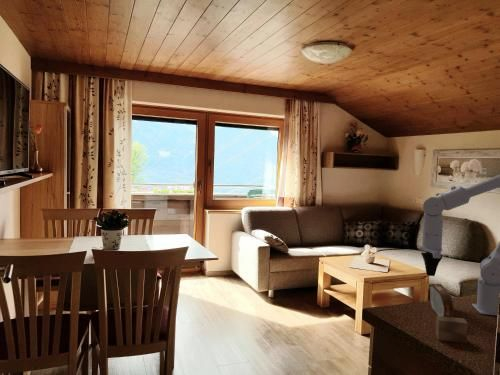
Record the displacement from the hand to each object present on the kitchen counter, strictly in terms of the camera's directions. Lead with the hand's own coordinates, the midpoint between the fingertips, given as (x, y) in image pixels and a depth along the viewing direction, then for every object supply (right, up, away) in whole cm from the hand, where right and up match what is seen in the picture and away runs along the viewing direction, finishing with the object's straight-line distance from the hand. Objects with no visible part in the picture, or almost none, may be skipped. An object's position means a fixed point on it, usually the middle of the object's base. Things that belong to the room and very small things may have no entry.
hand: (430, 275), depth 122 cm
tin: (-3, -9, -12) cm, 16 cm away
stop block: (-8, -9, -28) cm, 31 cm away
